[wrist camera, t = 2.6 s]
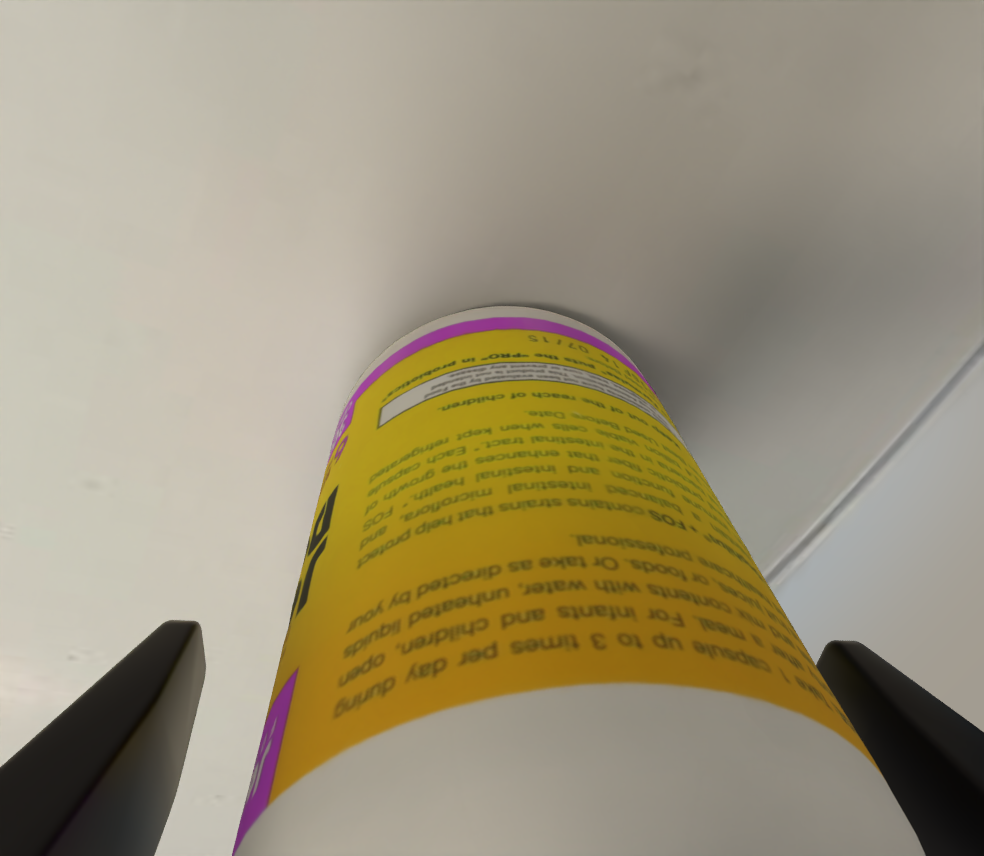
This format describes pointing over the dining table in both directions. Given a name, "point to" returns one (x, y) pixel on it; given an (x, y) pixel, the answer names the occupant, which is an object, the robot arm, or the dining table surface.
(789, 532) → the dining table surface
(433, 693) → the supplement bottle
